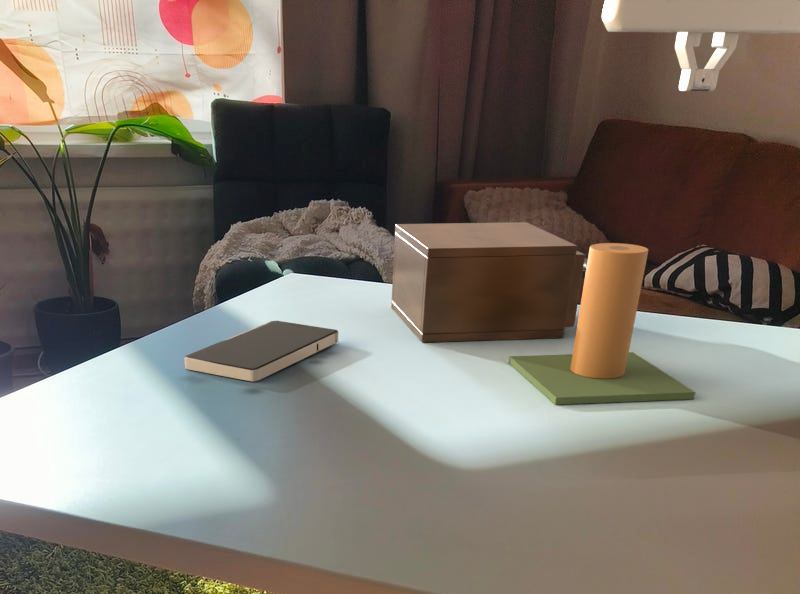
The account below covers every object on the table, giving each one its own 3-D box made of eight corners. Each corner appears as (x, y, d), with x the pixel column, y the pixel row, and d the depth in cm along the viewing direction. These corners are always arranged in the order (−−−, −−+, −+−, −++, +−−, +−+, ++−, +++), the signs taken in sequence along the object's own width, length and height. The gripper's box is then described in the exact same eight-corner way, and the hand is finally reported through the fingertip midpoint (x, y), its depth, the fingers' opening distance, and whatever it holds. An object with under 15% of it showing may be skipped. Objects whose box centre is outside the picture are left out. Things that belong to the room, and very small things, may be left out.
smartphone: (180, 356, 79) (272, 319, 90) (181, 370, 80) (272, 331, 91) (255, 370, 76) (342, 330, 86) (256, 384, 76) (341, 342, 87)
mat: (631, 358, 83) (632, 351, 83) (694, 399, 73) (695, 392, 73) (508, 362, 82) (509, 356, 82) (555, 404, 72) (556, 397, 72)
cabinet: (516, 304, 101) (526, 222, 97) (563, 338, 89) (577, 245, 85) (391, 308, 100) (395, 224, 95) (421, 342, 88) (428, 248, 83)
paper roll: (611, 362, 80) (633, 242, 75) (633, 378, 76) (658, 252, 71) (562, 364, 79) (581, 243, 74) (582, 380, 76) (603, 253, 70)
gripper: (637, -104, 74) (606, 91, 82) (862, -97, 76) (812, 92, 84) (606, -93, 79) (580, 89, 87) (817, -87, 82) (774, 90, 89)
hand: (696, 91), depth 85 cm, fingers closed
